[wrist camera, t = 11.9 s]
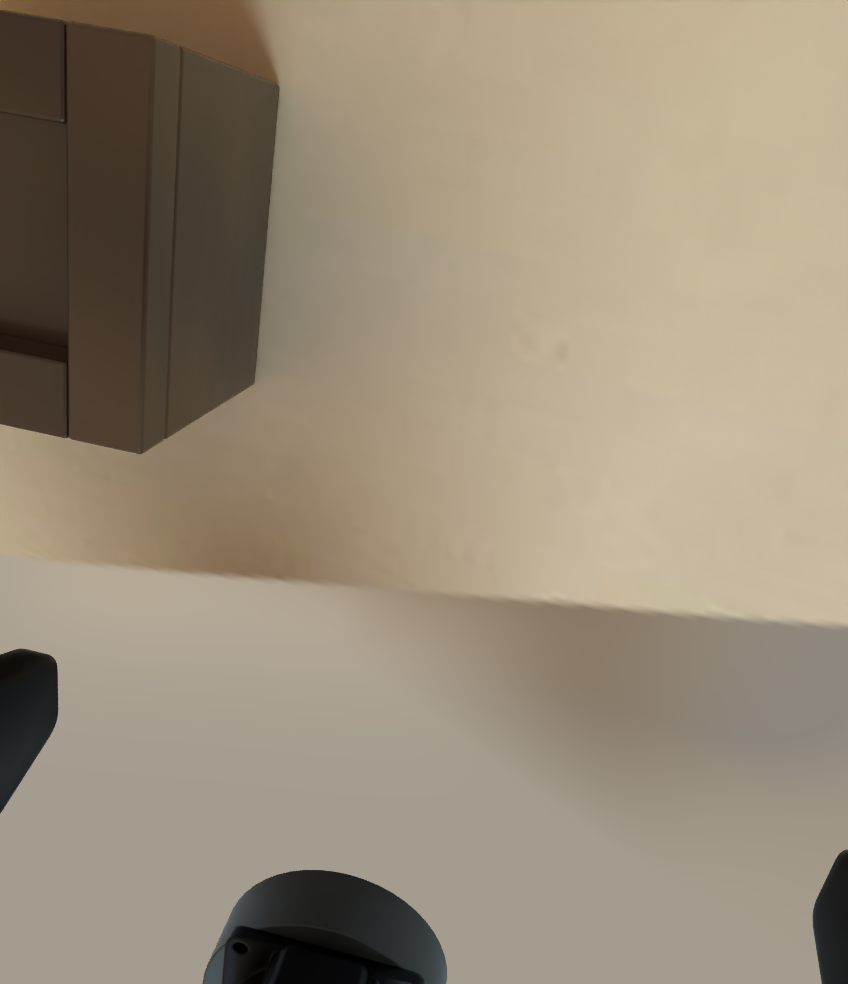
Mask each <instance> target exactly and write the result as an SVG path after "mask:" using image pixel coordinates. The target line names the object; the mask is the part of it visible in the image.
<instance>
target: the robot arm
mask: <svg viewBox="0 0 848 984" xmlns="http://www.w3.org/2000/svg"><path fill="white" fill-rule="evenodd" d="M57 716H58V673H57V663H56V661H55V659H54V658H53V657H52V656H50V655H48V654H44V653H39V652H36V651H31V650H27V649H16V650H13V651H10V652H7V653H4V654H1V655H0V813H1V812H2V810H3V809H4V807H5V806H6V804H7V802H8V801H9V799H10V797H11V796H12V794H13V793H14V791H15V790H16V788H17V787H18V785H19V784H20V782H21V781H22V779H23V777H24V776H25V774H26V773H27V771H28V769H29V768H30V766H31V765H32V763H33V762H34V760H35V759H36V757H37V756H38V754H39V752H40V751H41V749H42V748H43V746H44V744H45V743H46V741H47V740H48V738H49V737H50V735H51V733H52V731H53V729H54V727H55V724H56V721H57ZM813 929H814V936H815V942H816V949H817V955H818V961H819V968H820V975H821V981H822V984H848V850H844V851H842V852H841V853H840V854H839V855H838V857H837V858H836V860H835V862H834V864H833V866H832V868H831V870H830V872H829V875H828V877H827V879H826V881H825V883H824V885H823V887H822V889H821V892H820V893H819V895H818V897H817V900H816V902H815V906H814V910H813ZM222 984H426V981H425V979H424V977H423V976H421V975H420V974H419V973H416V972H414V971H410V970H407V969H403V968H399V967H395V966H392V965H388V964H384V963H381V962H377V961H373V960H369V959H366V958H362V957H358V956H355V955H351V954H347V953H343V952H340V951H336V950H332V949H328V948H325V947H321V946H317V945H314V944H310V943H306V942H302V941H299V940H295V939H291V938H288V937H284V936H280V935H276V934H273V933H269V932H265V931H262V930H258V929H254V928H250V927H247V926H237V927H234V928H233V929H232V930H231V932H230V935H229V937H228V939H227V942H226V944H225V954H224V964H223V974H222Z"/></svg>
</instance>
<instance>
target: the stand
mask: <svg viewBox="0 0 848 984" xmlns="http://www.w3.org/2000/svg"><path fill="white" fill-rule="evenodd" d="M278 96H279V85H277V84H276V83H273V82H271V81H268V80H265V79H263V78H260V77H258V76H255V75H253V74H250V73H248V72H245V71H242V70H240V69H237V68H235V67H232V66H230V65H227V64H225V63H222V62H219V61H217V60H214V59H212V58H209V57H207V56H204V55H201V54H199V53H196V52H194V51H191V50H189V49H186V48H184V47H181V46H177V45H176V44H173V43H171V42H168V41H166V40H163V39H160V38H158V37H155V36H153V35H148V34H142V33H136V32H130V31H124V30H118V29H112V28H106V27H100V26H94V25H88V24H82V23H76V22H66V21H63V20H58V19H52V18H46V17H40V16H34V15H28V14H22V13H16V12H10V11H4V10H0V424H2V425H7V426H12V427H16V428H21V429H25V430H30V431H35V432H39V433H44V434H49V435H53V436H58V437H62V438H68V437H69V438H70V439H73V440H77V441H82V442H86V443H91V444H96V445H100V446H105V447H109V448H114V449H119V450H123V451H128V452H133V453H137V454H142V453H144V452H145V451H147V450H149V449H150V448H152V447H153V446H155V445H157V444H158V443H160V442H161V441H163V439H166V438H168V437H170V436H171V435H173V434H174V433H176V432H178V431H179V430H181V429H182V428H184V427H186V426H187V425H189V424H191V423H192V422H194V421H195V420H197V419H199V418H200V417H202V416H203V415H205V414H207V413H208V412H210V411H211V410H213V409H215V408H216V407H218V406H219V405H221V404H223V403H224V402H226V401H227V400H229V399H231V398H232V397H234V396H236V395H237V394H239V393H240V392H242V391H244V390H245V389H247V388H248V387H250V386H252V385H253V384H254V380H255V368H256V356H257V345H258V333H259V321H260V309H261V297H262V285H263V274H264V262H265V250H266V238H267V226H268V214H269V203H270V191H271V179H272V167H273V155H274V143H275V132H276V120H277V108H278Z"/></svg>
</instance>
